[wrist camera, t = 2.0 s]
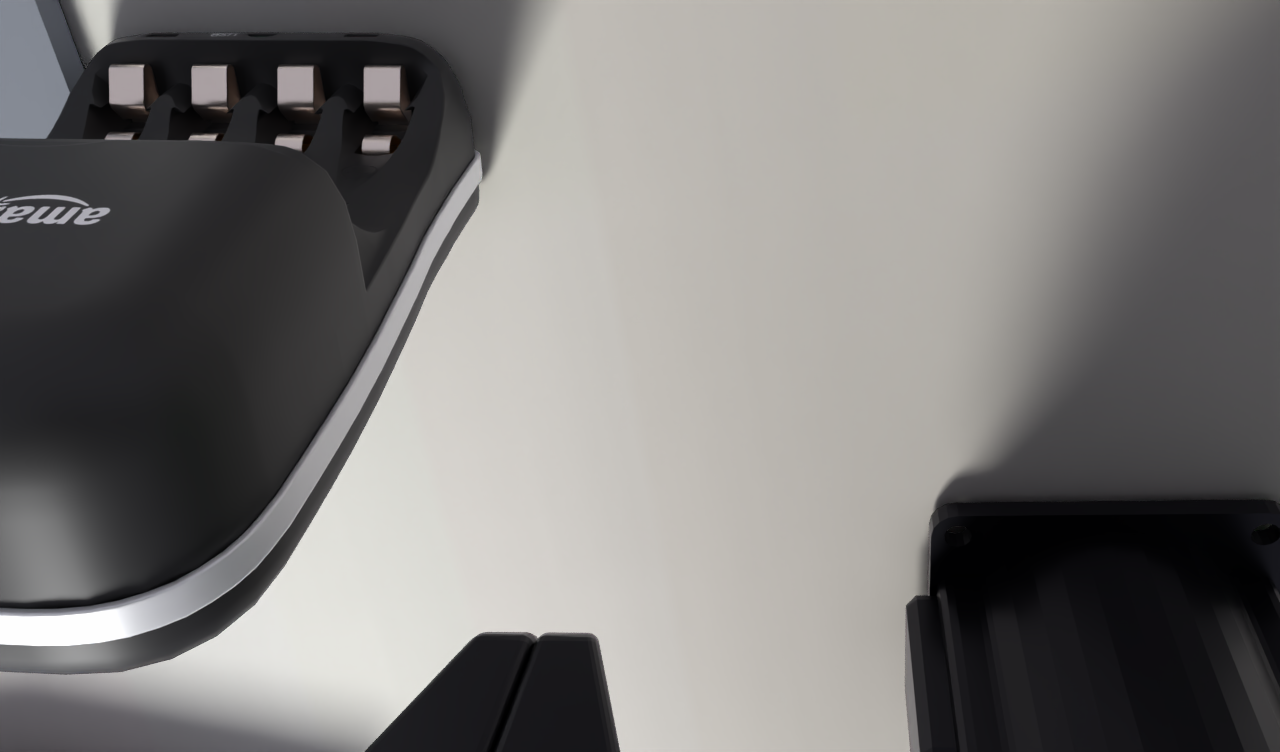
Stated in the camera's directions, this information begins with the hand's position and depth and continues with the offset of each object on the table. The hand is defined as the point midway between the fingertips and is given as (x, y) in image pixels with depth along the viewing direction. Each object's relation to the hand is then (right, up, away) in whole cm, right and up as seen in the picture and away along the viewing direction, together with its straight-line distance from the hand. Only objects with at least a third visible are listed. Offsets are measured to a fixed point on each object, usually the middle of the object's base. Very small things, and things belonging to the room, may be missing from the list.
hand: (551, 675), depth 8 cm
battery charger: (-5, +7, +12) cm, 15 cm away
